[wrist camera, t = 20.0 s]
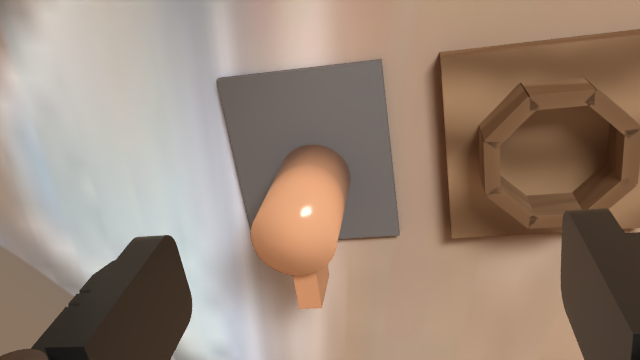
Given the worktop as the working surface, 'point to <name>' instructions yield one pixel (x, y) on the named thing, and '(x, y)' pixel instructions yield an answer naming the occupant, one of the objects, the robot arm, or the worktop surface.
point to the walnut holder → (542, 133)
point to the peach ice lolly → (303, 219)
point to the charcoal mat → (316, 135)
